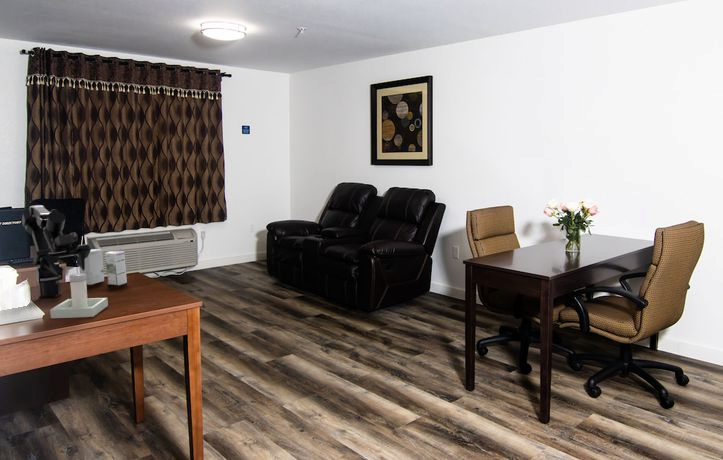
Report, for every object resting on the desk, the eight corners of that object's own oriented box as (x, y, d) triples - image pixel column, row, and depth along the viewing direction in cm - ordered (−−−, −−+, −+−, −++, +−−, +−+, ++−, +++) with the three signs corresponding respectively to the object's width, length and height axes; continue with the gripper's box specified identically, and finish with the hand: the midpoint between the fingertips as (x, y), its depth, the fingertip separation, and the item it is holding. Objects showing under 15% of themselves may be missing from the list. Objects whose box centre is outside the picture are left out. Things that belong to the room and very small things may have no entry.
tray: (50, 318, 181) (50, 309, 181) (68, 307, 195) (68, 299, 195) (93, 316, 183) (92, 308, 182) (107, 305, 197) (107, 297, 196)
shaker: (69, 311, 188) (66, 275, 186) (82, 307, 192) (79, 272, 191) (78, 312, 186) (75, 277, 184) (91, 309, 190) (89, 274, 188)
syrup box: (127, 282, 234) (125, 250, 232) (117, 285, 228) (115, 253, 227) (117, 281, 236) (115, 250, 234) (107, 284, 230) (104, 252, 228)
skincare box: (90, 285, 230) (88, 251, 228) (79, 284, 232) (77, 251, 230) (105, 281, 238) (102, 248, 236) (94, 280, 240) (92, 248, 238)
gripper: (33, 229, 187) (48, 263, 182) (86, 223, 201) (102, 255, 196) (26, 248, 193) (41, 281, 188) (79, 241, 207) (94, 272, 202)
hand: (71, 272), depth 193 cm, fingers open, 9 cm apart
